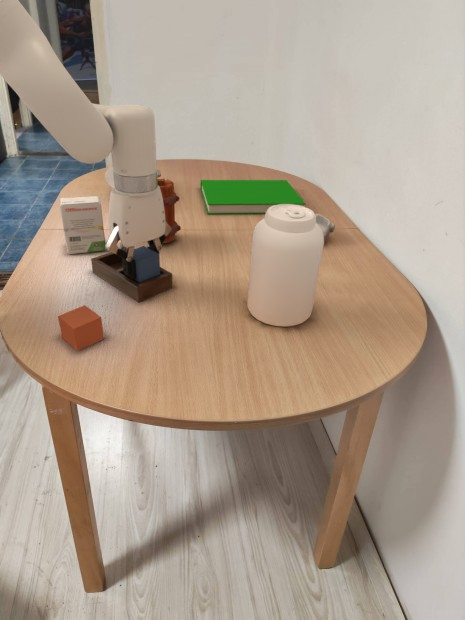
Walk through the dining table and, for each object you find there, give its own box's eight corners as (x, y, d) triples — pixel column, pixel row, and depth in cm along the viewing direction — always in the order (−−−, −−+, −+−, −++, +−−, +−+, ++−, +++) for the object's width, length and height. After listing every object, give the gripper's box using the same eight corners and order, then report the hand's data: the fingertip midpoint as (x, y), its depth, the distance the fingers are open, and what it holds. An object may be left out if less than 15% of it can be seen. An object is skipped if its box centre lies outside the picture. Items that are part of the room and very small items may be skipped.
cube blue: (140, 282, 87) (138, 261, 85) (124, 273, 90) (122, 252, 88) (160, 274, 91) (159, 254, 88) (145, 265, 93) (143, 245, 91)
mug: (159, 229, 117) (157, 171, 109) (186, 236, 114) (185, 177, 106) (122, 250, 106) (117, 186, 97) (151, 258, 103) (148, 194, 94)
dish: (337, 238, 118) (340, 220, 115) (309, 254, 108) (312, 235, 106) (290, 222, 125) (292, 205, 122) (260, 237, 116) (262, 218, 113)
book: (304, 213, 132) (305, 203, 130) (208, 214, 127) (208, 204, 126) (285, 188, 150) (286, 179, 149) (200, 188, 146) (200, 179, 144)
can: (324, 312, 87) (343, 213, 76) (281, 336, 80) (296, 231, 69) (276, 286, 95) (287, 193, 84) (233, 307, 87) (239, 207, 76)
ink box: (104, 242, 109) (98, 194, 102) (106, 251, 105) (101, 202, 98) (66, 246, 106) (58, 197, 100) (67, 255, 102) (59, 204, 96)
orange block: (77, 351, 74) (73, 328, 71) (61, 337, 77) (57, 315, 74) (104, 338, 77) (101, 316, 74) (88, 326, 80) (84, 304, 77)
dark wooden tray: (138, 302, 87) (137, 287, 85) (92, 272, 96) (90, 258, 94) (172, 287, 92) (172, 273, 91) (126, 260, 101) (124, 247, 99)
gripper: (160, 168, 88) (163, 253, 98) (81, 185, 77) (94, 278, 87) (186, 177, 84) (186, 265, 93) (106, 197, 73) (117, 293, 83)
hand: (142, 271), depth 90 cm, fingers closed on cube blue, 4 cm apart
